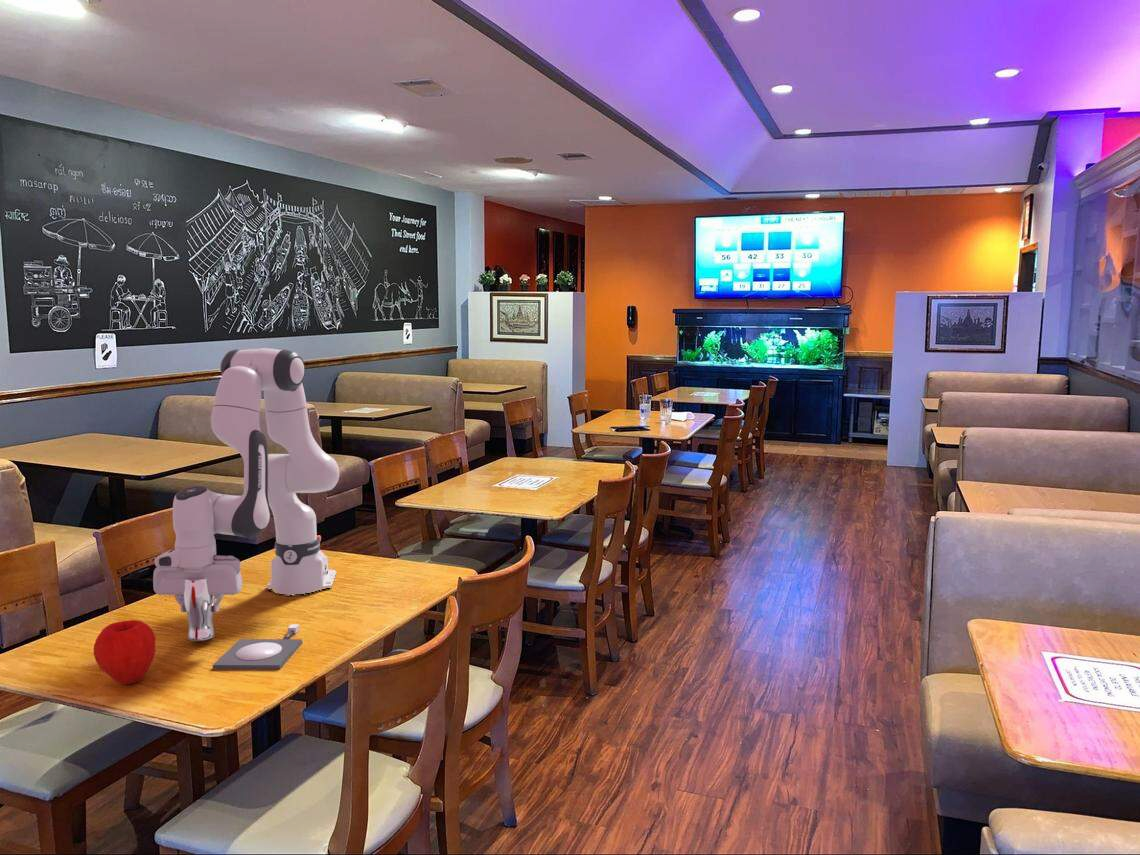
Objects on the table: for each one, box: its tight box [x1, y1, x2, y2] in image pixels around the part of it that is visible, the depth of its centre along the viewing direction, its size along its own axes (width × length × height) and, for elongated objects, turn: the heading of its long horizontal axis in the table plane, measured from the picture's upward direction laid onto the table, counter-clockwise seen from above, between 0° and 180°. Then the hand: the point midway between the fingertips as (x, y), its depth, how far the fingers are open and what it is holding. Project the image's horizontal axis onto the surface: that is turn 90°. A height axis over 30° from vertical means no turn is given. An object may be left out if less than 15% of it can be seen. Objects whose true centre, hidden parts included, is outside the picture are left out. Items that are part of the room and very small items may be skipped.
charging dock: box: [212, 623, 303, 670], centre depth 200 cm, size 23×15×2 cm, turn 179°
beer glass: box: [183, 578, 216, 642], centre depth 203 cm, size 7×7×15 cm
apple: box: [93, 619, 157, 685], centre depth 182 cm, size 12×12×13 cm
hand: (200, 611), depth 204 cm, fingers closed on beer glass, 6 cm apart
